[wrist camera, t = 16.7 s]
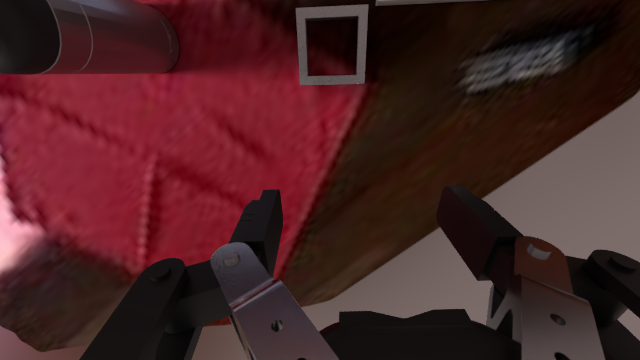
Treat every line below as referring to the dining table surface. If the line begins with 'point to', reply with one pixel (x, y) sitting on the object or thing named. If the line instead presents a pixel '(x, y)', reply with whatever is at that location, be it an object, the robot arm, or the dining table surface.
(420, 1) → the tray
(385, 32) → the dining table surface
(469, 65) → the dining table surface
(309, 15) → the socket
